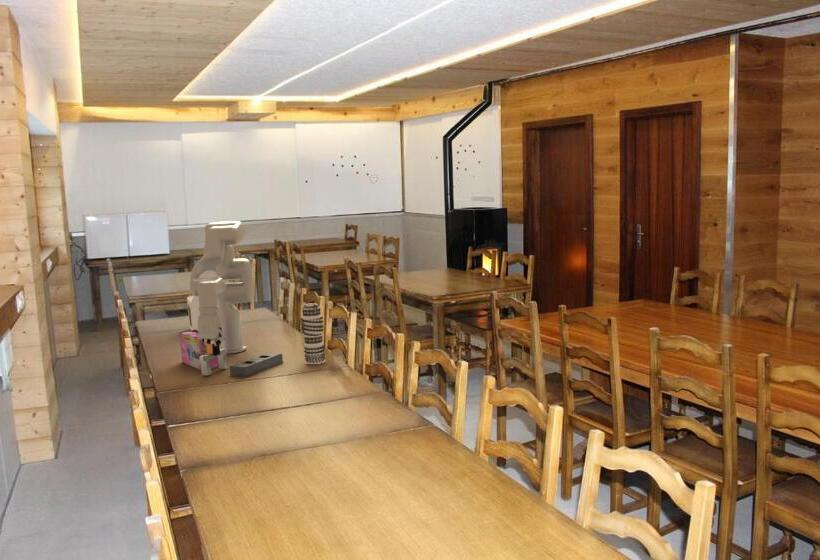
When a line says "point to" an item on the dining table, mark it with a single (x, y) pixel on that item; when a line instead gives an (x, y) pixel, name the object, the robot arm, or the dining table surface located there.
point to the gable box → (193, 311)
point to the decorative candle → (313, 333)
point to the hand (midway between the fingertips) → (213, 354)
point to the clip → (206, 358)
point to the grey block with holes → (256, 364)
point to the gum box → (194, 350)
